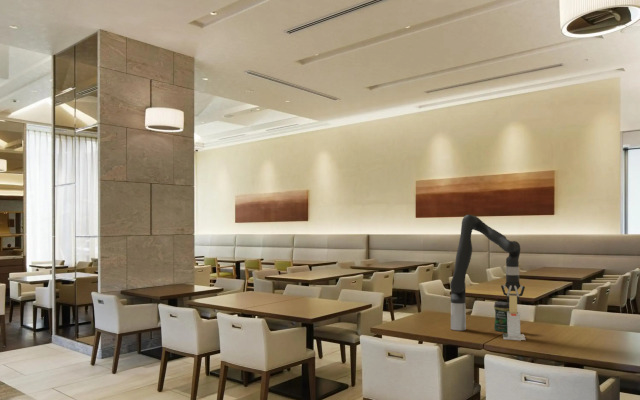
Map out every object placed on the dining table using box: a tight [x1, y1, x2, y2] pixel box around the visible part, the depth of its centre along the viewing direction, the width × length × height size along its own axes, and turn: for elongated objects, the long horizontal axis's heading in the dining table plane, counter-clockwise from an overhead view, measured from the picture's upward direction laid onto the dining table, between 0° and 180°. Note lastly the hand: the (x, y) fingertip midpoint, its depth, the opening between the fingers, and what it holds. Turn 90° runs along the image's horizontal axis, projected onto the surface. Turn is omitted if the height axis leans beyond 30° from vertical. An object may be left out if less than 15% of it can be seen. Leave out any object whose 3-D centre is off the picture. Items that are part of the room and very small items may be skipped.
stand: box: [502, 311, 526, 341], centre depth 287 cm, size 12×12×15 cm
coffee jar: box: [493, 301, 509, 333], centre depth 307 cm, size 10×8×19 cm
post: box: [509, 292, 518, 313], centre depth 288 cm, size 4×4×21 cm
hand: (513, 302), depth 288 cm, fingers closed on post, 4 cm apart
